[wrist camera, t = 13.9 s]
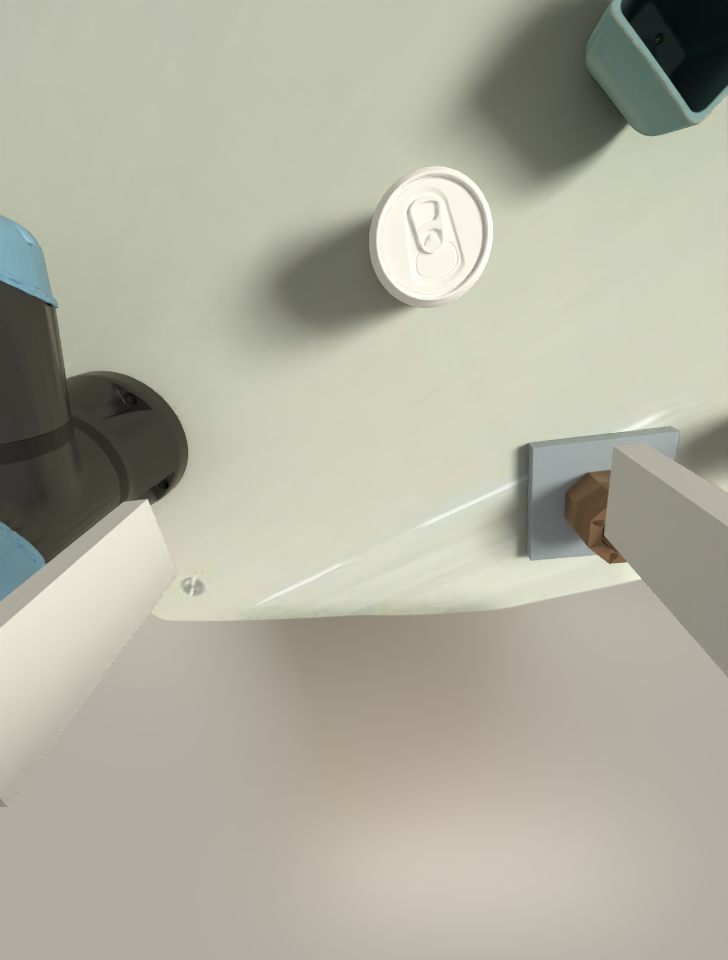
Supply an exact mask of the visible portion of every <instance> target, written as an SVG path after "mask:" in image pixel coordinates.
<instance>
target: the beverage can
mask: <svg viewBox="0 0 728 960" xmlns="http://www.w3.org/2000/svg"><path fill="white" fill-rule="evenodd" d="M492 240H493V224H492V217H491V213H490V209H489V206H488V203H487V201H486V199H485V197H484V195H483V194H482V192H481V190H480V189H479V188H478V187H477V185H476V184H475V183H474V182H473V181H472V180H471V179H469V178H468V177H467V176H465V175H464V174H462V173H460V172H459V171H456V170H454V169H451V168H447V167H441V166H430V167H424V168H420V169H417V170H414V171H412V172H410V173H408V174H406V175H404V176H403V177H401V178H400V179H399V180H397V181H396V182H395V183H394V184H393V185H392V186H391V187H390V188H389V189H388V190H387V192H386V193H385V194H384V196H383V197H382V199H381V200H380V202H379V204H378V206H377V208H376V210H375V213H374V215H373V219H372V222H371V227H370V233H369V251H370V257H371V262H372V265H373V268H374V271H375V273H376V275H377V277H378V279H379V281H380V282H381V284H382V285H383V286H384V288H385V289H386V290H387V291H388V292H389V293H390V294H391V295H392V296H394V297H395V298H396V299H398V300H400V301H401V302H403V303H406V304H408V305H411V306H415V307H421V308H432V307H438V306H442V305H445V304H448V303H450V302H452V301H454V300H456V299H458V298H459V297H461V296H462V295H463V294H465V293H466V292H467V291H468V290H469V289H470V288H471V287H472V286H473V285H474V284H475V282H476V281H477V280H478V278H479V277H480V275H481V274H482V272H483V270H484V268H485V266H486V264H487V261H488V258H489V255H490V252H491V247H492Z"/></svg>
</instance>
